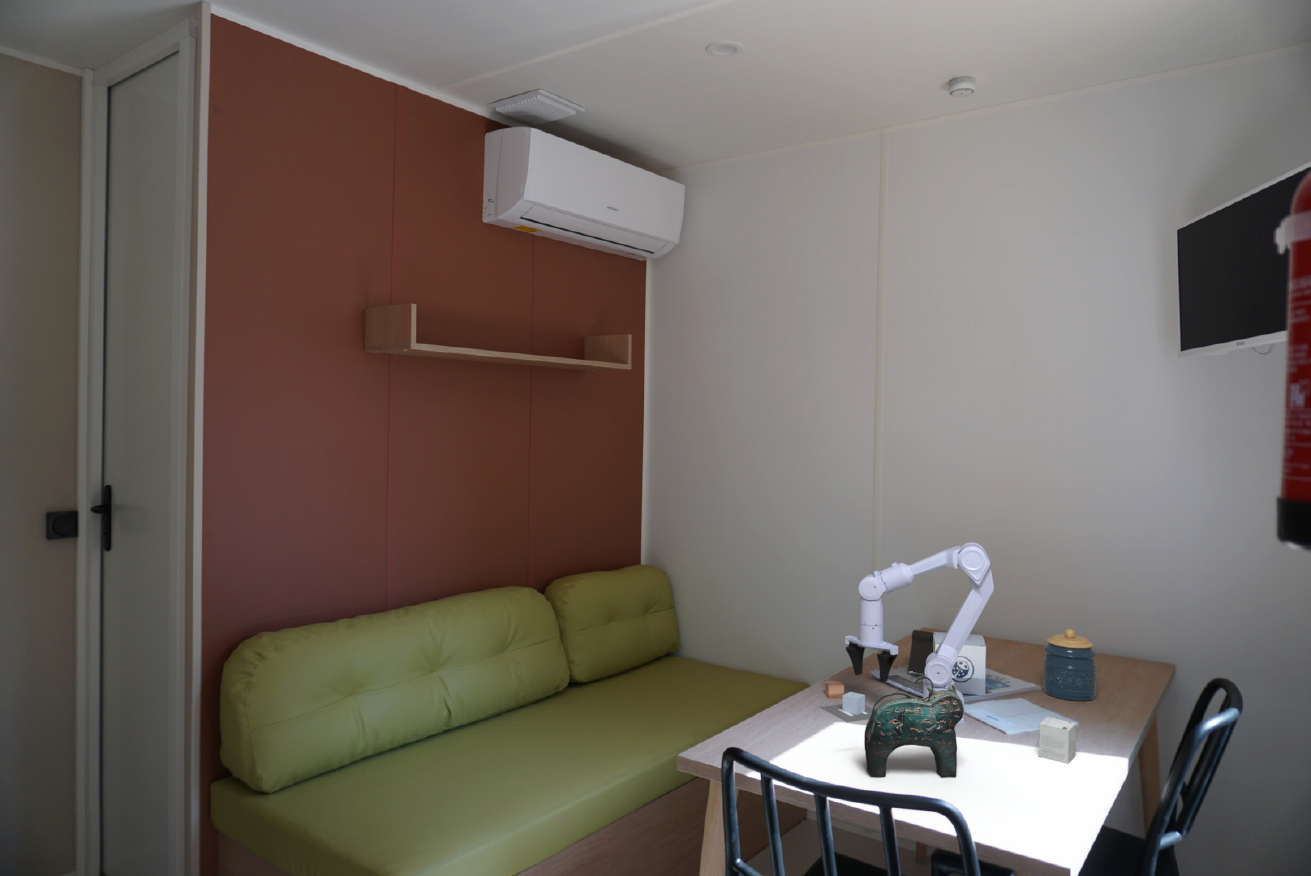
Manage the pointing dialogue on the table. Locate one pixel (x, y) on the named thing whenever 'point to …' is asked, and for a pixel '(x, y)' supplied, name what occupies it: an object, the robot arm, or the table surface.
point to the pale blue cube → (853, 703)
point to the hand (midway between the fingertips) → (870, 677)
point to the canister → (1070, 667)
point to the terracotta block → (834, 690)
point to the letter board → (845, 716)
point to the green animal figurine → (914, 729)
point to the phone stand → (920, 650)
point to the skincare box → (1057, 740)
